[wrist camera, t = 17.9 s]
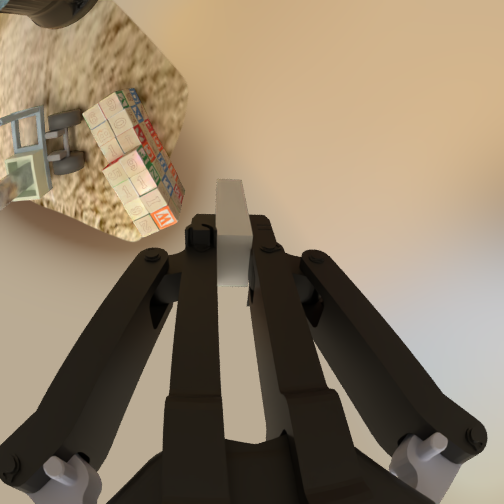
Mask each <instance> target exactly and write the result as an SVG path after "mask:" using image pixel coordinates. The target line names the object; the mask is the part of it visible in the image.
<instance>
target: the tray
mask: <svg viewBox="0 0 504 504" xmlns="http://www.w3.org/2000/svg"><path fill="white" fill-rule="evenodd" d="M27 162H31V168H32V174H33V180H34V184H33V185H31V186H30V187H29V188H27V189H26V190H25V191H23V192H22V193H21V194H20V195H18V196H17V197H16V198H15V199H14V200H12V201H21V200H33V199H41V198H42V197H43V196H44V195H45V194H46V193H47V192H48V191H49V188H48V182H47V176H46V170H45V163H44V156H43V149H39V150H33V151H28V152H22V153H17V154H14V155H12V156H11V157H9V158H7V159H6V160H5V167H6V172H7V175H8V174H10V173H11V172H13V171H14V170H16V169H17V168H19V167H21V166H22V165H24V164H25V163H27Z"/></svg>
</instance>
